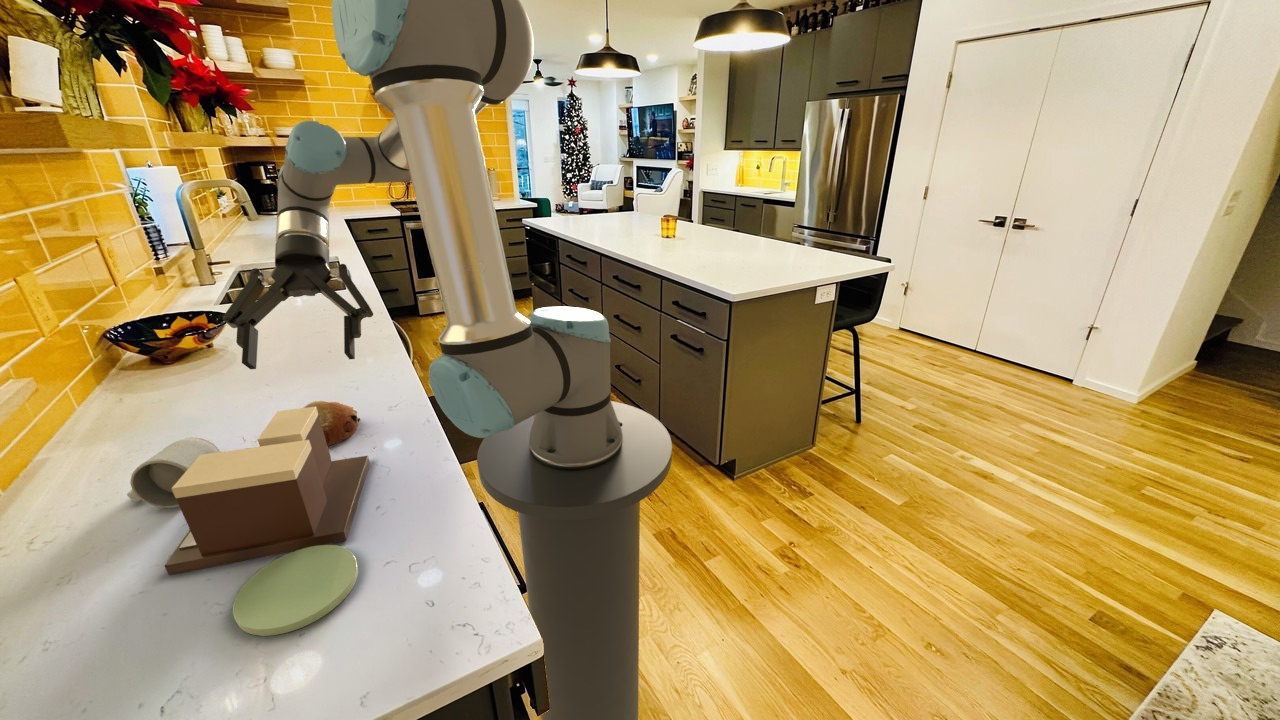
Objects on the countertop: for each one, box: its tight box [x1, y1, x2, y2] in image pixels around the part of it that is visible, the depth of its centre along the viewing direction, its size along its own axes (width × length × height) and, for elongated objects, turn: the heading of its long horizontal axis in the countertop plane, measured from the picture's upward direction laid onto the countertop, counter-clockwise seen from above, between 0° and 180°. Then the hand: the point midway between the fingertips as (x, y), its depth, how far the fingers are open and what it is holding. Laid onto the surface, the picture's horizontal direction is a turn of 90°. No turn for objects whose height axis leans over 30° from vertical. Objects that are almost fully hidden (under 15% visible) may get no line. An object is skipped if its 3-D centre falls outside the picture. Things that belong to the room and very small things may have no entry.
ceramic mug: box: [126, 437, 221, 509], centre depth 72 cm, size 11×8×8 cm
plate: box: [232, 544, 359, 637], centre depth 57 cm, size 12×12×1 cm
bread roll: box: [302, 400, 361, 447], centre depth 88 cm, size 10×10×8 cm
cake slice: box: [257, 407, 333, 485], centre depth 72 cm, size 5×8×10 cm, turn 18°
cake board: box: [164, 455, 371, 576], centre depth 70 cm, size 19×18×2 cm
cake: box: [171, 440, 327, 556], centre depth 63 cm, size 12×7×10 cm, turn 108°
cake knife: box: [179, 532, 197, 549], centre depth 68 cm, size 14×2×1 cm, turn 18°
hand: (300, 361), depth 77 cm, fingers open, 13 cm apart
